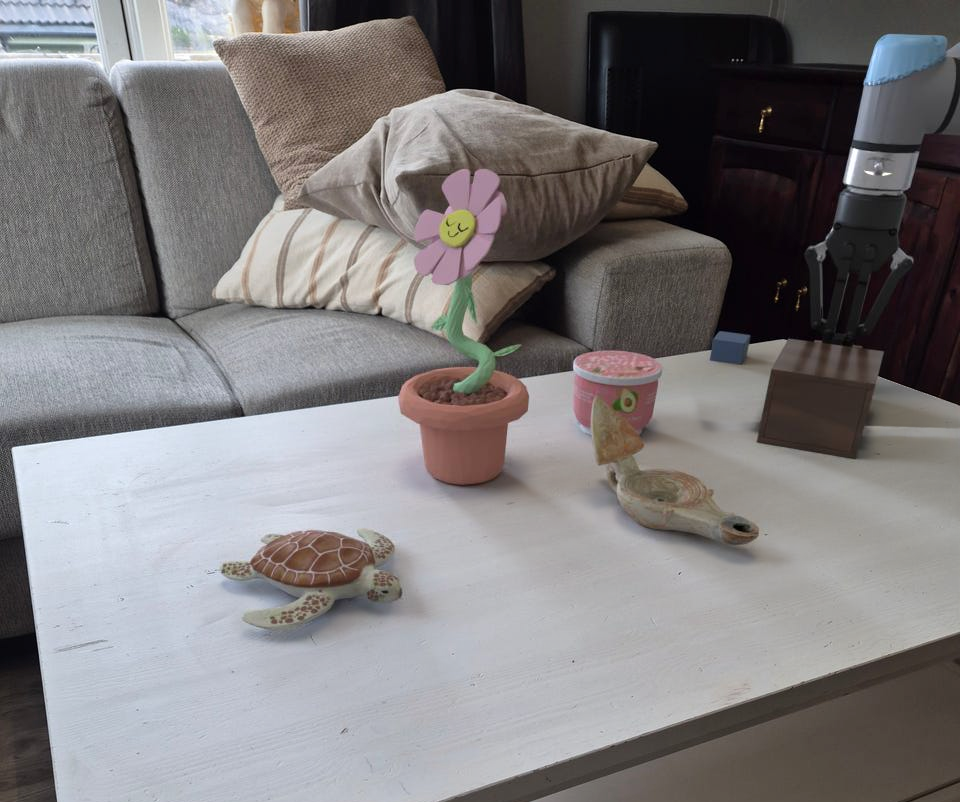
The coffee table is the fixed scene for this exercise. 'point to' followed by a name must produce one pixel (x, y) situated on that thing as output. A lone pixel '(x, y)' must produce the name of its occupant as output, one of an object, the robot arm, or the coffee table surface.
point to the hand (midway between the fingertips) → (827, 385)
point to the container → (616, 386)
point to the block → (730, 347)
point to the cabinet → (819, 397)
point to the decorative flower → (463, 342)
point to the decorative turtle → (317, 573)
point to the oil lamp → (659, 486)
